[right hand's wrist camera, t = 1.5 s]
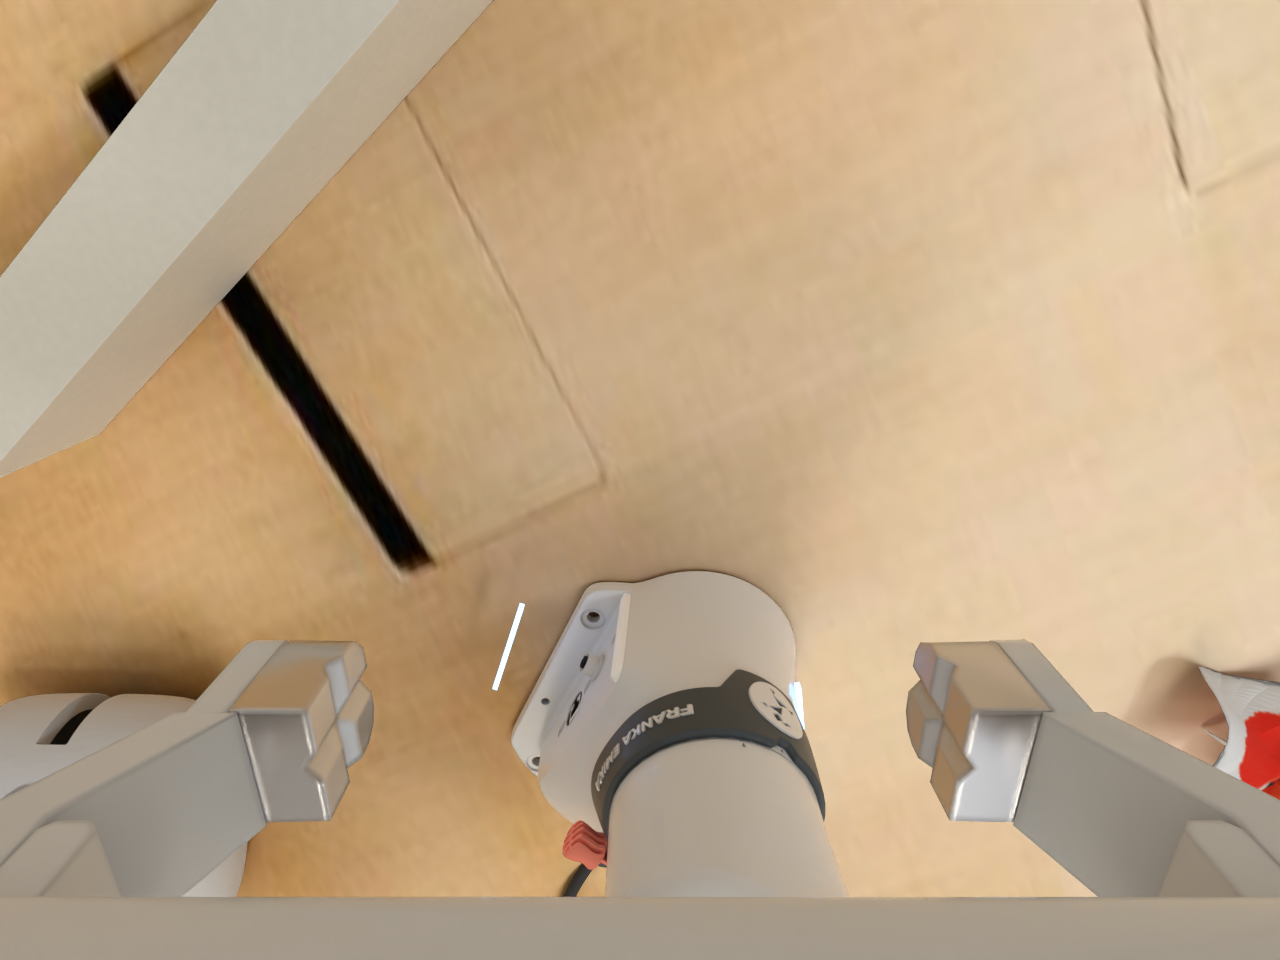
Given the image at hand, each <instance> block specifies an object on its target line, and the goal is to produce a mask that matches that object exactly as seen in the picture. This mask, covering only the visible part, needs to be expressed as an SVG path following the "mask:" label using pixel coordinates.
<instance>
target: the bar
mask: <svg viewBox="0 0 1280 960" xmlns="http://www.w3.org/2000/svg"><path fill="white" fill-rule="evenodd" d="M492 1H493V0H217V1H216V2H215V4H214V5H213V6H212V8H211V9H210V10H209V11H208V13H207V14H206V15H205V16H204V18H203V19H202V20H201V22H200V23H199V24H198V25H197V27H196V28H195V29H194V31H193V32H192V33H191V34H190V36H189V37H188V38H187V39H186V41H185V42H184V43H183V45H182V46H181V47H180V48H179V50H178V51H177V52H176V53H175V55H174V56H173V57H172V59H171V60H170V61H169V62H168V64H167V65H166V66H165V67H164V69H163V70H162V71H161V73H160V74H159V75H158V76H157V78H156V79H155V80H154V82H153V83H152V84H151V85H150V87H149V88H148V89H147V90H146V92H145V93H144V94H143V96H142V97H141V98H140V99H139V101H138V102H137V103H136V104H135V106H134V107H133V108H132V110H131V111H130V112H129V113H128V115H127V116H126V117H125V118H124V120H123V121H122V122H121V124H120V125H119V126H118V127H117V129H116V130H115V131H114V133H113V134H112V135H111V136H110V138H109V139H108V140H107V141H106V143H105V144H104V145H103V147H102V148H101V149H100V150H99V152H98V153H97V154H96V155H95V157H94V158H93V159H92V161H91V162H90V163H89V164H88V166H87V167H86V168H85V169H84V171H83V172H82V173H81V175H80V176H79V177H78V178H77V180H76V181H75V182H74V183H73V185H72V186H71V187H70V189H69V190H68V191H67V192H66V194H65V195H64V196H63V198H62V199H61V200H60V201H59V203H58V204H57V205H56V206H55V208H54V209H53V210H52V212H51V213H50V214H49V215H48V217H47V218H46V219H45V220H44V222H43V223H42V224H41V226H40V227H39V228H38V229H37V231H36V232H35V233H34V234H33V236H32V237H31V238H30V240H29V241H28V242H27V243H26V245H25V246H24V247H23V249H22V250H21V251H20V252H19V254H18V255H17V256H16V257H15V259H14V260H13V261H12V263H11V264H10V265H9V266H8V268H7V269H6V270H5V271H4V273H3V274H2V275H1V277H0V478H1V477H3V476H6V475H8V474H10V473H12V472H15V471H17V470H19V469H22V468H24V467H26V466H28V465H31V464H33V463H35V462H38V461H40V460H42V459H44V458H47V457H49V456H51V455H54V454H56V453H58V452H60V451H63V450H65V449H67V448H70V447H72V446H74V445H76V444H79V443H81V442H83V441H86V440H88V439H90V438H92V437H95V436H97V435H99V434H100V433H101V432H102V431H103V430H104V429H105V428H106V427H107V425H108V424H109V423H110V422H111V421H112V420H113V419H114V418H115V417H116V416H117V414H118V413H119V412H120V411H121V410H122V409H123V408H124V407H125V406H126V405H127V403H128V402H129V401H130V400H131V399H132V398H133V397H134V396H135V395H136V393H137V392H138V391H139V390H140V389H141V388H142V387H143V386H144V385H145V384H146V382H147V381H148V380H149V379H150V378H151V377H152V376H153V375H154V374H155V373H156V371H157V370H158V369H159V368H160V367H161V366H162V365H163V364H164V363H165V362H166V360H167V359H168V358H169V357H170V356H171V355H172V354H173V353H174V352H175V351H176V349H177V348H178V347H179V346H180V345H181V344H182V343H183V342H184V341H185V339H186V338H187V337H188V336H189V335H190V334H191V333H192V332H193V331H194V330H195V328H196V327H197V326H198V325H199V324H200V323H201V322H202V321H203V320H204V319H205V317H206V316H207V315H208V314H209V313H210V312H211V311H212V310H213V309H214V308H215V306H216V305H217V304H218V303H219V302H220V301H221V300H222V299H223V298H224V297H225V295H226V294H227V293H228V292H229V291H230V290H231V289H232V288H233V287H234V286H235V284H236V283H237V282H238V281H239V280H240V279H241V278H242V277H243V276H244V274H245V273H246V272H247V271H248V270H249V269H250V268H251V267H252V266H253V265H254V263H255V262H256V261H257V260H258V259H259V258H260V257H261V256H262V255H263V254H264V252H265V251H266V250H267V249H268V248H269V247H270V246H271V245H272V244H273V243H274V241H275V240H276V239H277V238H278V237H279V236H280V235H281V234H282V233H283V232H284V230H285V229H286V228H287V227H288V226H289V225H290V224H291V223H292V222H293V221H294V219H295V218H296V217H297V216H298V215H299V214H300V213H301V212H302V211H303V209H304V208H305V207H306V206H307V205H308V204H309V203H310V202H311V201H312V200H313V198H314V197H315V196H316V195H317V194H318V193H319V192H320V191H321V190H322V189H323V187H324V186H325V185H326V184H327V183H328V182H329V181H330V180H331V179H332V178H333V176H334V175H335V174H336V173H337V172H338V171H339V170H340V169H341V168H342V167H343V165H344V164H345V163H346V162H347V161H348V160H349V159H350V158H351V157H352V155H353V154H354V153H355V152H356V151H357V150H358V149H359V148H360V147H361V146H362V144H363V143H364V142H365V141H366V140H367V139H368V138H369V137H370V136H371V135H372V133H373V132H374V131H375V130H376V129H377V128H378V127H379V126H380V125H381V124H382V122H383V121H384V120H385V119H386V118H387V117H388V116H389V115H390V114H391V113H392V111H393V110H394V109H395V108H396V107H397V106H398V105H399V104H400V103H401V102H402V100H403V99H404V98H405V97H406V96H407V95H408V94H409V93H410V92H411V90H412V89H413V88H414V87H415V86H416V85H417V84H418V83H419V82H420V81H421V79H422V78H423V77H424V76H425V75H426V74H427V73H428V72H429V71H430V70H431V68H432V67H433V66H434V65H435V64H436V63H437V62H438V61H439V60H440V59H441V57H442V56H443V55H444V54H445V53H446V52H447V51H448V50H449V49H450V48H451V46H452V45H453V44H454V43H455V42H456V41H457V40H458V39H459V38H460V37H461V35H462V34H463V33H464V32H465V31H466V30H467V29H468V28H469V27H470V25H471V24H472V23H473V22H474V21H475V20H476V19H477V18H478V17H479V16H480V14H481V13H482V12H483V11H484V10H485V9H486V8H487V7H488V6H489V5H490V3H491V2H492Z"/></svg>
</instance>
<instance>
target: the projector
mask: <svg viewBox="0 0 1280 960" xmlns="http://www.w3.org/2000/svg"><path fill="white" fill-rule="evenodd" d="M195 701H196V700H194V699H189V698H185V697H177V696H168V695H152V694H120V695H117V696H114V697H109V696H108V695H106V694H102V693H57V694H41V695H33V696H27V697H23V698H19V699H16V700H13V701H10V702H8V703H6V704H4V705H2V706H0V800H1V799H3V798H5V797H7V796H9V795H11V794H13V793H15V792H17V791H19V790H21V789H23V788H25V787H27V786H29V785H31V784H33V783H34V782H36V781H38V780H40V779H42V778H44V777H46V776H48V775H50V774H52V773H54V772H56V771H58V770H60V769H62V768H64V767H66V766H68V765H70V764H72V763H74V762H76V761H78V760H80V759H82V758H84V757H86V756H88V755H90V754H92V753H94V752H96V751H98V750H100V749H102V748H104V747H106V746H108V745H110V744H112V743H114V742H116V741H118V740H120V739H122V738H124V737H126V736H128V735H130V734H132V733H134V732H136V731H138V730H140V729H142V728H144V727H146V726H148V725H150V724H152V723H154V722H156V721H158V720H160V719H162V718H164V717H166V716H168V715H170V714H172V713H174V712H186V711H187V710H188V709H189V708H190V707H191V706H192V705H193V704H194V702H195ZM247 845H248V842H247V843H245V844H244V845H243V846H242V847H241V848H239V849H238V850H237V851H236V852H235V853H233V854H232V855H231V856H230V857H229V858H228V859H226V860H225V861H224V862H223V863H222V864H220V865H219V866H218V867H217V868H216V869H214V870H213V871H212V872H211V873H210V874H208V875H207V876H206V877H205V878H204V879H203V880H201V881H200V882H199V883H198V884H197V885H195V886H194V887H193V888H192V889H191V890H189V891H188V892H187V893H186V894H185V895H184V896H182V897H236V896H237V893H238V891H239V888H240V885H241V881H242V877H243V874H244V868H245V862H246V855H247Z"/></svg>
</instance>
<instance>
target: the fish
mask: <svg viewBox="0 0 1280 960" xmlns="http://www.w3.org/2000/svg"><path fill="white" fill-rule="evenodd" d="M1199 669H1200V671H1201V673H1202V675H1203V677H1204V679H1205V681H1206V682H1207V684H1208V685H1209V687H1210V688H1211V690H1212V692H1213V693H1214V695H1215V696H1216V698H1217V699H1218V701H1219V704H1220V706H1221V708H1222V711H1223V713H1224V715H1225V718H1226V721H1227V724H1228V727H1229V733H1228V738H1227V742H1226V741H1224V740H1223V739H1221V738H1219V737H1217V736H1215V735H1213V734H1211V733H1210V732H1208V731H1206V730H1203V731H1205V732H1206V733H1208V734H1209V735H1210V736H1212V737H1213V738H1215V739H1216V740H1217V741H1219V742H1220V743H1222V744H1223V745H1224V746H1225V748H1224V749H1223V751H1222V753H1221V755H1220V756H1219V758H1218V760H1217V761H1216V762H1215V764H1214V765H1213V767H1215V768H1217V769H1219V770H1221V771H1223V772H1225V773H1227V774H1229V775H1231V776H1233V777H1235V778H1237V779H1239V780H1241V781H1243V782H1245V783H1247V784H1249V785H1251V786H1253V787H1255V788H1257V789H1259V790H1261V791H1263V792H1265V793H1267V794H1269V795H1271V796H1273V797H1275V798H1277V799H1279V800H1280V683H1278V682H1271V681H1265V680H1258V679H1252V678H1245V677H1239V676H1232V675H1226V674H1221V673H1218V672H1216V671H1214V670H1211V669H1208V668H1205V667H1202V666H1199Z"/></svg>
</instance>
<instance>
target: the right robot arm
mask: <svg viewBox="0 0 1280 960" xmlns="http://www.w3.org/2000/svg"><path fill="white" fill-rule="evenodd" d="M524 605H525V604H522V603H520V605H519V608H518V611H517V614H516V617H515V620H514V623H513V626H512V629H511V632H510V636H509V639H508V642H507V645H506V648H505V651H504V654H503V657H502V660H501V663H500V667H499V670H498V673H497V676H496V679H495V682H494V685H493V689H495V690H497V689H498V686H499V683H500V679H501V676H502V673H503V670H504V667H505V664H506V661H507V658H508V655H509V652H510V649H511V646H512V643H513V640H514V636H515V633H516V630H517V627H518V624H519V621H520V618H521V615H522V612H523V609H524ZM590 612H596V613H598V614H599V616H597V617H592V616H590V615H589V613H590ZM366 667H367V664H366V659H365V655H364V650H363V647H362V646H361V645H360V644H359V643H358V642H353V641H305V640H290V641H287V640H256V641H252V642H249V643H247V644H246V645H245V646H244V647H243V648H242V650H241V651H240V652H239V653H238V654H237V655H236V656H235V657H234V659H233V660H232V661H231V662H230V663H229V664H228V665H227V666H226V668H225V669H224V670H223V671H222V672H221V673H220V674H219V675H218V677H217V678H216V679H215V680H214V681H213V682H212V683H211V684H210V686H209V687H208V688H207V689H206V690H205V691H204V692H203V693H202V695H201V696H200V697H199V698H198V699H197V700H196V701H195V702H194V704H193V705H192V706H191V707H190V708H189V709H188V710H187V711H186V712H174V713H172V714H170V715H168V716H166V717H164V718H162V719H160V720H158V721H156V722H154V723H152V724H150V725H148V726H146V727H144V728H142V729H140V730H138V731H136V732H134V733H132V734H130V735H128V736H126V737H124V738H122V739H120V740H118V741H116V742H114V743H112V744H110V745H108V746H106V747H104V748H102V749H100V750H98V751H96V752H94V753H92V754H90V755H88V756H86V757H84V758H82V759H80V760H78V761H76V762H74V763H72V764H70V765H68V766H66V767H64V768H62V769H60V770H58V771H56V772H54V773H52V774H50V775H48V776H46V777H44V778H42V779H40V780H38V781H36V782H34V783H33V784H31V785H29V786H27V787H25V788H23V789H21V790H19V791H17V792H15V793H13V794H11V795H9V796H7V797H5V798H3V799H1V800H0V960H1280V800H1279V799H1277V798H1275V797H1273V796H1271V795H1269V794H1267V793H1265V792H1263V791H1261V790H1259V789H1257V788H1255V787H1253V786H1251V785H1249V784H1247V783H1245V782H1243V781H1241V780H1239V779H1237V778H1235V777H1233V776H1231V775H1229V774H1227V773H1225V772H1223V771H1221V770H1219V769H1217V768H1215V767H1213V766H1211V765H1209V764H1207V763H1205V762H1203V761H1201V760H1199V759H1197V758H1195V757H1193V756H1191V755H1189V754H1187V753H1185V752H1183V751H1181V750H1179V749H1177V748H1175V747H1173V746H1172V745H1170V744H1168V743H1166V742H1164V741H1162V740H1160V739H1158V738H1156V737H1154V736H1152V735H1150V734H1148V733H1146V732H1144V731H1142V730H1140V729H1138V728H1136V727H1134V726H1132V725H1130V724H1128V723H1126V722H1124V721H1122V720H1120V719H1118V718H1116V717H1114V716H1112V715H1110V714H1108V713H1106V712H1094V711H1093V710H1092V709H1091V708H1090V707H1089V706H1088V705H1087V704H1086V702H1085V701H1084V700H1083V699H1082V698H1081V697H1080V696H1079V695H1078V693H1077V692H1076V691H1075V690H1074V689H1073V688H1072V687H1071V686H1070V684H1069V683H1068V682H1067V681H1066V680H1065V679H1064V678H1063V677H1062V675H1061V674H1060V673H1059V672H1058V671H1057V670H1056V669H1055V668H1054V666H1053V665H1052V664H1051V663H1050V662H1049V661H1048V660H1047V659H1046V658H1045V656H1044V655H1043V654H1042V653H1041V652H1040V651H1039V650H1038V649H1037V647H1036V646H1035V645H1034V644H1033V643H1031V642H1029V641H1026V640H996V641H987V642H920V644H919V646H918V648H917V650H916V653H915V658H914V664H913V667H914V669H915V671H916V672H917V674H918V676H919V678H920V679H921V680H920V681H919V682H918V683H917V684H916V685H915V686H914V687H913V688H912V689H911V690H910V691H909V692H908V700H907V707H906V716H907V728H908V733H909V736H910V740H911V743H912V746H913V748H914V750H915V752H916V754H917V756H918V758H919V759H921V760H922V761H924V762H925V763H926V764H928V765H929V766H931V767H932V768H933V770H932V775H931V781H930V783H931V785H932V787H933V789H934V791H935V792H936V794H937V796H938V798H939V800H940V802H941V804H942V806H943V808H944V810H945V812H946V814H947V816H948V818H949V820H950V821H983V822H1014V826H1015V827H1016V828H1017V829H1018V830H1019V831H1021V832H1022V833H1023V834H1024V835H1025V836H1027V837H1028V838H1029V839H1030V840H1031V841H1033V842H1034V843H1035V844H1036V845H1037V846H1038V847H1040V848H1041V849H1042V850H1043V851H1044V852H1046V853H1047V854H1048V855H1049V856H1050V857H1052V858H1053V859H1054V860H1055V861H1056V862H1057V863H1059V864H1060V865H1061V866H1062V867H1063V868H1065V869H1066V870H1067V871H1068V872H1069V873H1071V874H1072V875H1073V876H1074V877H1075V878H1076V879H1078V880H1079V881H1080V882H1081V883H1082V884H1084V885H1085V886H1086V887H1087V888H1088V889H1090V890H1091V891H1092V892H1093V893H1094V894H1095V895H1097V896H1098V897H849V894H848V892H847V889H846V886H845V884H844V881H843V878H842V875H841V872H840V869H839V867H838V864H837V861H836V858H835V855H834V852H833V849H832V846H831V843H830V840H829V837H828V834H827V831H826V828H825V825H824V819H825V800H824V794H823V790H822V786H821V782H820V778H819V774H818V770H817V767H816V764H815V760H814V757H813V753H812V750H811V747H810V744H809V741H808V738H807V736H806V733H805V731H804V719H803V706H802V692H801V687H800V683H799V682H797V683H796V682H795V668H796V643H795V637H794V634H793V630H792V628H791V625H790V623H789V621H788V619H787V617H786V616H785V614H784V613H783V611H782V610H781V608H780V607H779V606H778V605H777V604H776V603H775V601H774V600H773V599H772V598H770V597H769V596H768V595H767V594H766V593H764V592H763V591H762V590H760V589H759V588H757V587H756V586H754V585H752V584H750V583H748V582H746V581H744V580H742V579H739V578H736V577H733V576H730V575H726V574H722V573H717V572H709V571H684V572H677V573H671V574H667V575H663V576H660V577H657V578H653V579H650V580H647V581H643V582H638V583H624V582H599V583H595V584H592V585H590V586H589V587H588V588H587V589H586V590H585V591H584V593H583V595H582V597H581V599H580V601H579V603H578V605H577V606H576V608H575V610H574V612H573V614H572V616H571V618H570V620H569V622H568V624H567V626H566V627H565V629H564V631H563V633H562V635H561V637H560V639H559V641H558V643H557V645H556V647H555V648H554V650H553V652H552V654H551V656H550V658H549V660H548V662H547V664H546V666H545V668H544V669H543V671H542V673H541V675H540V677H539V679H538V681H537V683H536V685H535V687H534V689H533V690H532V692H531V694H530V696H529V698H528V700H527V702H526V704H525V706H524V708H523V710H522V711H521V713H520V715H519V717H518V719H517V721H516V723H515V725H514V727H513V730H512V735H511V744H512V746H513V748H514V750H515V752H516V753H517V755H518V757H519V758H520V759H521V761H522V762H523V763H524V764H525V765H526V767H527V768H528V769H529V770H530V771H531V772H532V773H533V774H535V775H536V776H537V777H538V783H539V787H540V789H541V791H542V794H543V795H544V797H545V798H546V800H547V801H548V802H549V804H550V805H551V806H552V807H553V808H554V809H555V810H556V811H557V812H558V813H559V814H560V815H562V816H563V817H564V818H566V819H567V820H568V821H569V822H571V823H572V824H574V825H573V826H572V827H571V828H570V830H569V832H568V833H567V836H566V838H565V841H564V845H563V855H564V856H565V857H566V858H568V859H570V860H573V861H577V862H580V863H583V864H582V865H581V867H580V868H579V870H578V871H577V873H576V874H575V876H574V877H573V879H572V881H571V883H570V884H569V886H568V888H567V890H566V892H565V894H564V896H563V897H182V896H184V895H185V894H186V893H187V892H188V891H189V890H191V889H192V888H193V887H194V886H195V885H197V884H198V883H199V882H200V881H201V880H203V879H204V878H205V877H206V876H207V875H208V874H210V873H211V872H212V871H213V870H214V869H216V868H217V867H218V866H219V865H220V864H222V863H223V862H224V861H225V860H226V859H228V858H229V857H230V856H231V855H232V854H233V853H235V852H236V851H237V850H238V849H239V848H241V847H242V846H243V845H244V844H245V843H247V842H248V841H249V840H250V839H251V838H252V837H254V836H255V835H256V834H257V833H258V832H260V831H261V830H262V829H263V828H264V827H266V822H296V821H330V820H331V818H332V816H333V814H334V812H335V810H336V808H337V806H338V804H339V802H340V800H341V798H342V796H343V794H344V792H345V790H346V788H347V786H348V785H349V783H350V781H349V775H348V770H347V768H348V767H349V766H351V765H352V764H354V763H355V762H356V761H358V760H359V759H361V758H362V756H363V754H364V752H365V750H366V748H367V746H368V743H369V740H370V736H371V731H372V726H373V719H374V705H373V699H372V692H371V691H370V690H369V689H368V688H367V687H366V686H365V685H364V684H363V683H362V682H361V681H360V680H359V679H360V678H361V676H362V674H363V672H364V671H365V669H366ZM536 757H540V759H538V758H536ZM597 866H600V867H606V868H607V870H606V889H605V897H576V895H577V893H578V891H579V889H580V888H581V886H582V884H583V883H584V881H585V880H586V878H587V877H588V875H589V874H590V872H591V871H592V870H593V869H595V868H596V867H597Z"/></svg>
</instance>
